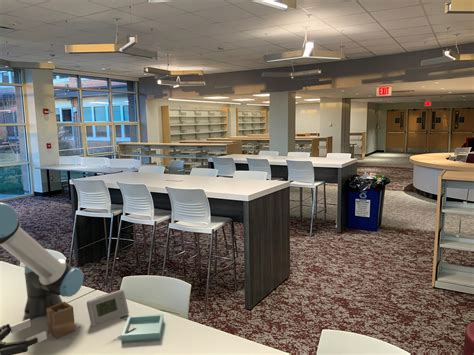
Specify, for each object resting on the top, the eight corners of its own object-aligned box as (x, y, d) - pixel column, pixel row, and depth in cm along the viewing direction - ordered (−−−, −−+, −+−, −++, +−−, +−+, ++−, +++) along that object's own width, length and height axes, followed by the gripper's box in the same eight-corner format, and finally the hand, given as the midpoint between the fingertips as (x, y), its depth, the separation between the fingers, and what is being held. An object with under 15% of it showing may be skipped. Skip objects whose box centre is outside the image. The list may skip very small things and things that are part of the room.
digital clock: (90, 330, 149) (88, 305, 148) (86, 320, 157) (84, 296, 155) (131, 318, 158) (130, 294, 156) (125, 309, 165) (123, 286, 164)
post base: (53, 329, 151) (50, 304, 149) (81, 327, 152) (79, 302, 150) (41, 344, 140) (38, 318, 138) (72, 342, 141) (69, 316, 139)
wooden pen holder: (48, 332, 145) (46, 308, 144) (66, 325, 151) (64, 301, 149) (57, 339, 141) (54, 314, 139) (75, 331, 146) (73, 306, 145)
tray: (128, 323, 154) (128, 316, 153) (163, 321, 155) (163, 314, 155) (121, 343, 140) (120, 335, 140) (159, 340, 141) (159, 332, 141)
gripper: (-41, 352, 131) (25, 326, 147) (-17, 383, 115) (54, 350, 131) (-44, 332, 130) (22, 308, 146) (-20, 360, 114) (52, 330, 130)
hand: (37, 328), depth 138 cm, fingers open, 13 cm apart
